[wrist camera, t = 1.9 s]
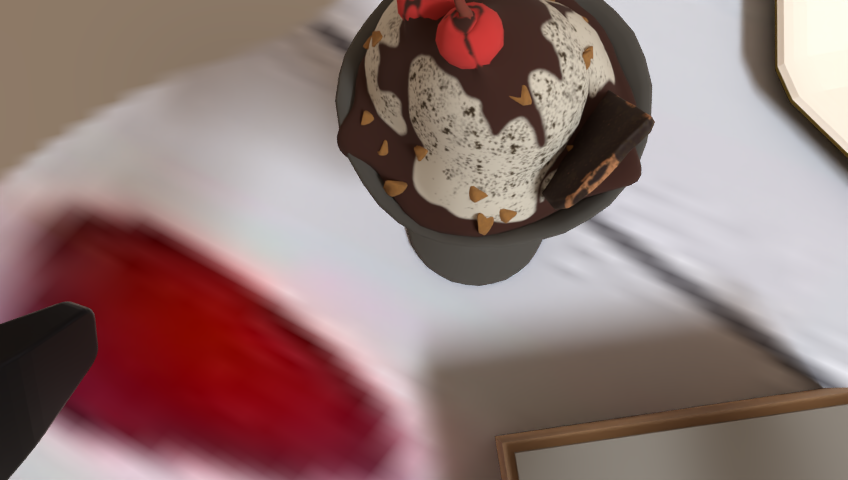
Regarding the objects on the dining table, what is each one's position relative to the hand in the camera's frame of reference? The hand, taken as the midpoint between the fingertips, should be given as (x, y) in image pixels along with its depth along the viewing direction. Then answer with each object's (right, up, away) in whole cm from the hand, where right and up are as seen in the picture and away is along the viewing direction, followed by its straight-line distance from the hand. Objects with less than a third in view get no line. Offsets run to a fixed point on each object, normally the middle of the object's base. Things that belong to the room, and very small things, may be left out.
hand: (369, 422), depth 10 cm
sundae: (+3, +3, +14) cm, 15 cm away
